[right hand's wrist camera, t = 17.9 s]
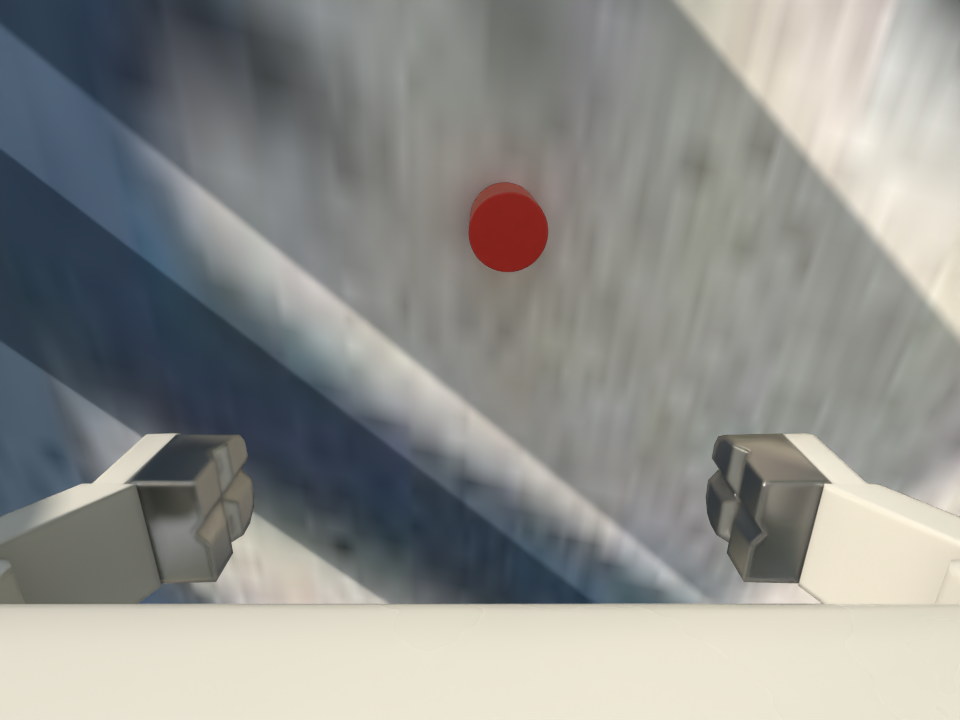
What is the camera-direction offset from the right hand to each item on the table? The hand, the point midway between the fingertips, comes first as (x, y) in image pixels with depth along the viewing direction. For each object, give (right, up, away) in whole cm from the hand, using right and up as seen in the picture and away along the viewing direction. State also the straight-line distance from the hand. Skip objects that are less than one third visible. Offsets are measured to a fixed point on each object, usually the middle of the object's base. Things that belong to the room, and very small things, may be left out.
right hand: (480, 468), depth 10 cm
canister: (+1, +9, +20) cm, 22 cm away
